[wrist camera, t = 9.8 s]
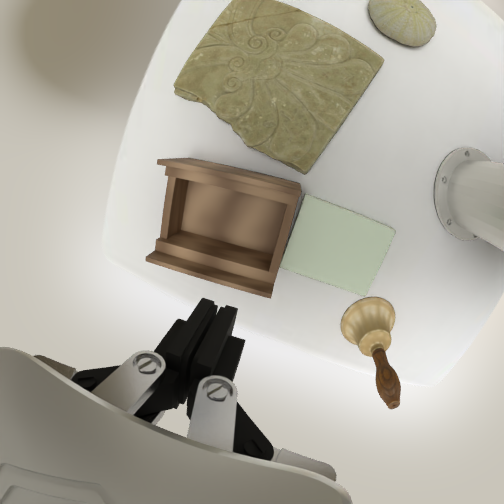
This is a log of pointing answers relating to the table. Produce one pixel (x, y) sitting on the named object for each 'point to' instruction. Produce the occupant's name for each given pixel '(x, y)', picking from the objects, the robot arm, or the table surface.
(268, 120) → the decorative tile
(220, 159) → the table surface
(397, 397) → the hand bell
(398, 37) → the sea urchin shell
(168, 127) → the table surface
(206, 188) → the box
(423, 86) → the table surface
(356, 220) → the cover plate
